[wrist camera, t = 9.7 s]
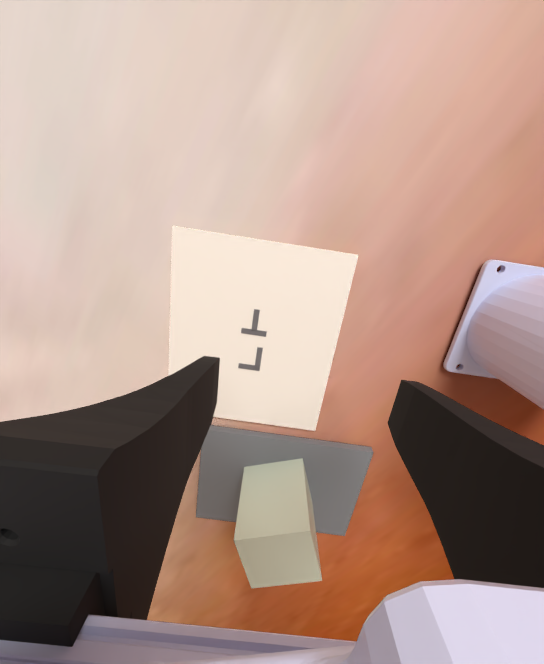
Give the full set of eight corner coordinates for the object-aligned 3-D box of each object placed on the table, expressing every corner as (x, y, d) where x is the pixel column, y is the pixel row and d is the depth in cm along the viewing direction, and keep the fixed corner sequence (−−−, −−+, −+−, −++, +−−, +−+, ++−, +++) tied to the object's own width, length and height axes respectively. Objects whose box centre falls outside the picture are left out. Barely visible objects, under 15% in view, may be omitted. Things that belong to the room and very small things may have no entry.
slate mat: (371, 447, 24) (373, 452, 23) (343, 529, 27) (344, 535, 26) (204, 424, 23) (202, 429, 23) (197, 510, 27) (195, 517, 26)
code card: (357, 254, 18) (358, 254, 18) (314, 429, 23) (315, 431, 23) (173, 225, 18) (171, 225, 18) (168, 409, 23) (167, 410, 22)
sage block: (302, 458, 23) (310, 530, 18) (312, 501, 25) (322, 580, 19) (244, 467, 24) (233, 540, 18) (257, 509, 25) (251, 588, 20)
